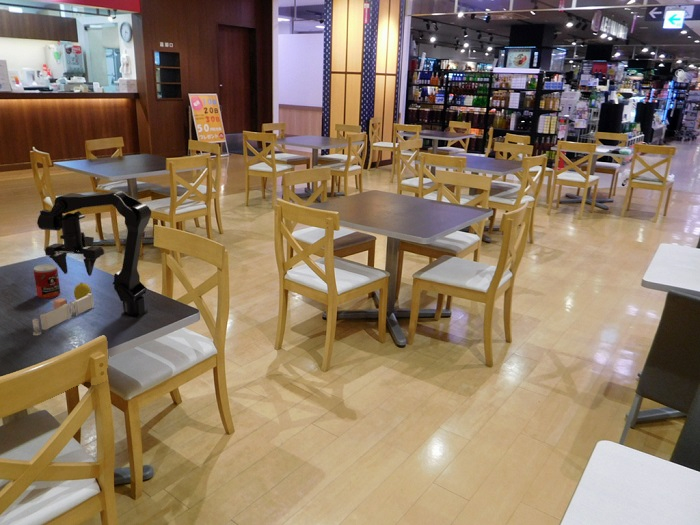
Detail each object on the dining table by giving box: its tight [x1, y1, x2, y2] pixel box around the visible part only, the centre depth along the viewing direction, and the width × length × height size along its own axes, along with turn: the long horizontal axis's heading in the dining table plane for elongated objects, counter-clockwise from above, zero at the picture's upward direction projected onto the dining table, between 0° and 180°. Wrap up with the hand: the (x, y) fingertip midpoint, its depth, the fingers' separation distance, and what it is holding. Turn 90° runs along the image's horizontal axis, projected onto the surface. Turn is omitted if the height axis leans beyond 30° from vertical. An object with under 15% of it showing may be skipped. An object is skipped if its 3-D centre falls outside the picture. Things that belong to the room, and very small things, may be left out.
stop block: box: [52, 297, 68, 310], centre depth 192 cm, size 3×3×3 cm
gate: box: [39, 303, 72, 331], centre depth 179 cm, size 10×2×5 cm, turn 162°
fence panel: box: [73, 293, 95, 315], centre depth 190 cm, size 2×7×5 cm, turn 162°
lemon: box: [73, 282, 92, 301], centre depth 196 cm, size 6×6×8 cm
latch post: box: [32, 318, 43, 337], centre depth 172 cm, size 2×2×5 cm
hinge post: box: [69, 301, 77, 318], centre depth 186 cm, size 2×2×5 cm
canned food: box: [33, 263, 61, 300], centre depth 201 cm, size 8×8×11 cm
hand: (78, 274), depth 190 cm, fingers open, 9 cm apart
